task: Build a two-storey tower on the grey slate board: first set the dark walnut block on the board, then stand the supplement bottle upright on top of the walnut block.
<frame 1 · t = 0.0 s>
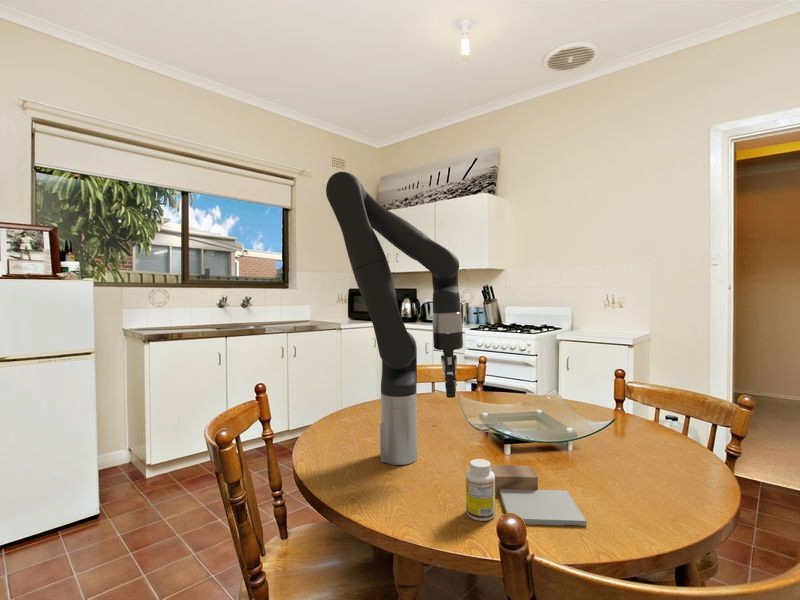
hand: (450, 393, 111), 17 cm above the table, tool pointing down, fingers open, 8 cm apart
supplement bottle: (480, 515, 84), on the table
slate board: (539, 508, 86), on the table
walnut block: (511, 488, 96), on the table
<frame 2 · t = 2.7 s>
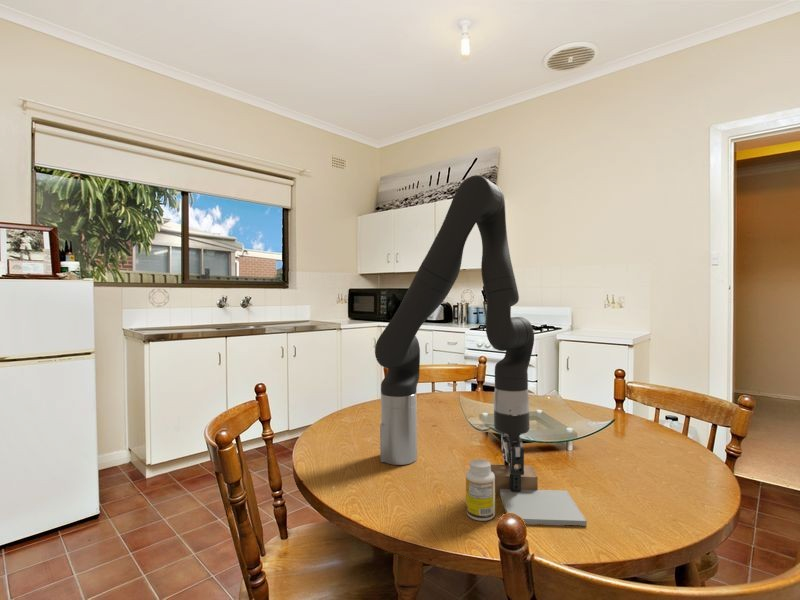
hand: (512, 483, 95), 1 cm above the table, tool pointing down, fingers open, 6 cm apart
walnut block: (511, 488, 96), on the table, touching gripper
everything else where it was.
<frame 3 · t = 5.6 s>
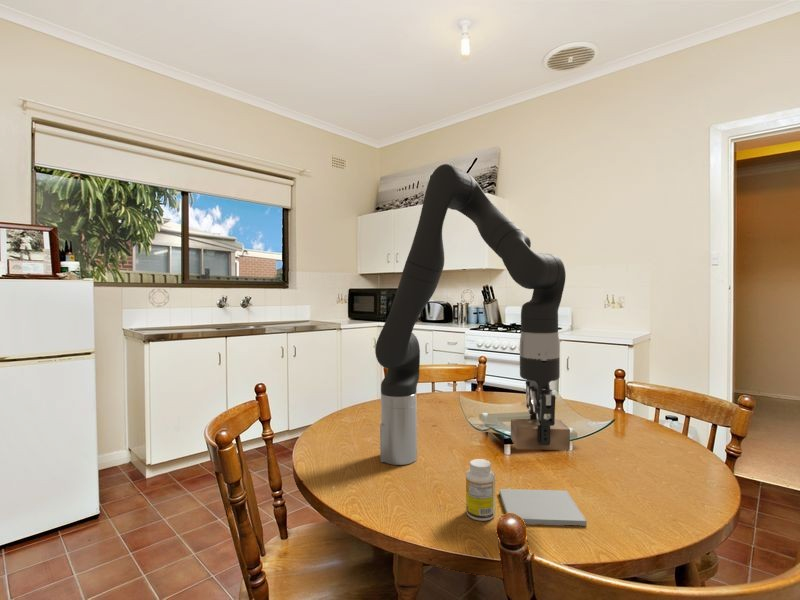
hand: (539, 438, 86), 14 cm above the table, tool pointing down, fingers closed on walnut block, 6 cm apart
walnut block: (539, 443, 86), point 13 cm above the table, touching gripper
everything else where it was.
when the fingers open (3 cm above the table, at t = 8.0 s): walnut block stays where it is, resting on slate board.
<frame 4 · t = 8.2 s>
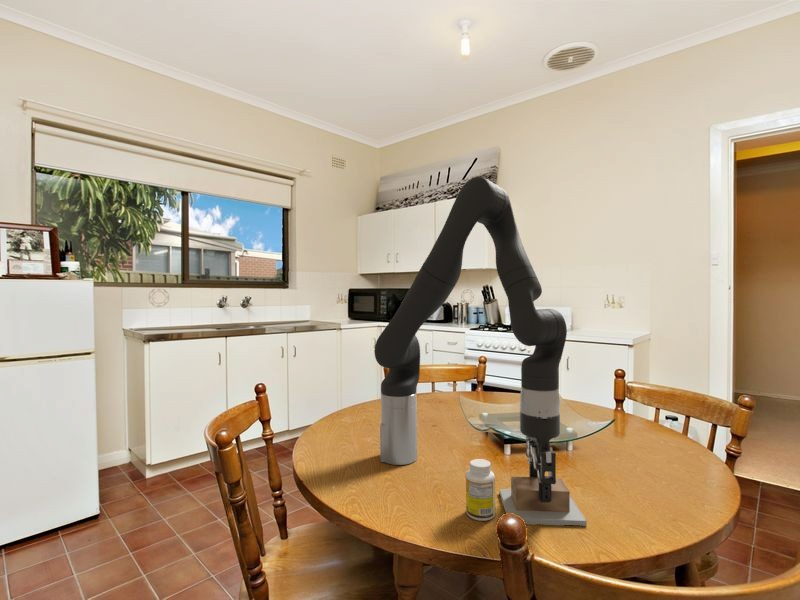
hand: (539, 491, 86), 3 cm above the table, tool pointing down, fingers open, 7 cm apart
walnut block: (539, 503, 86), point 1 cm above the table, touching slate board
everything else where it was.
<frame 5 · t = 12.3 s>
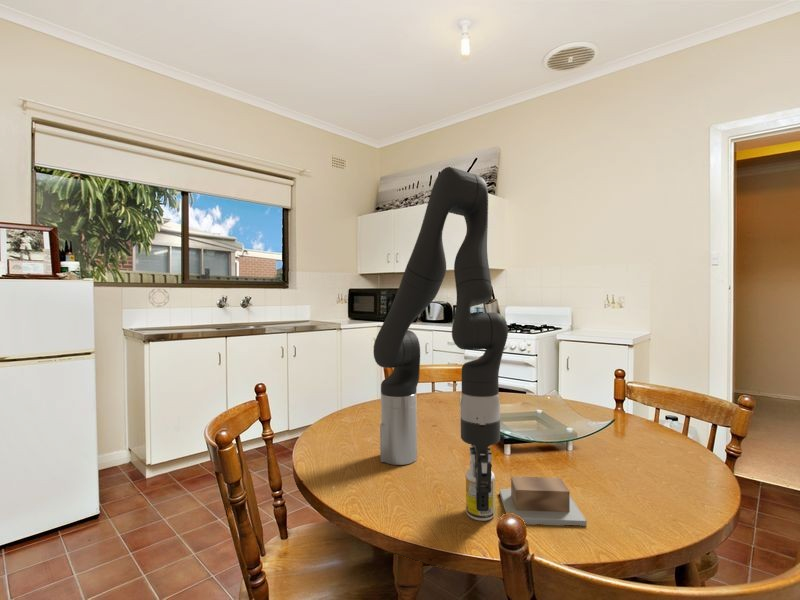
hand: (480, 501, 84), 3 cm above the table, tool pointing down, fingers closed on supplement bottle, 5 cm apart
supplement bottle: (480, 515, 84), on the table, touching gripper
everything else where it was.
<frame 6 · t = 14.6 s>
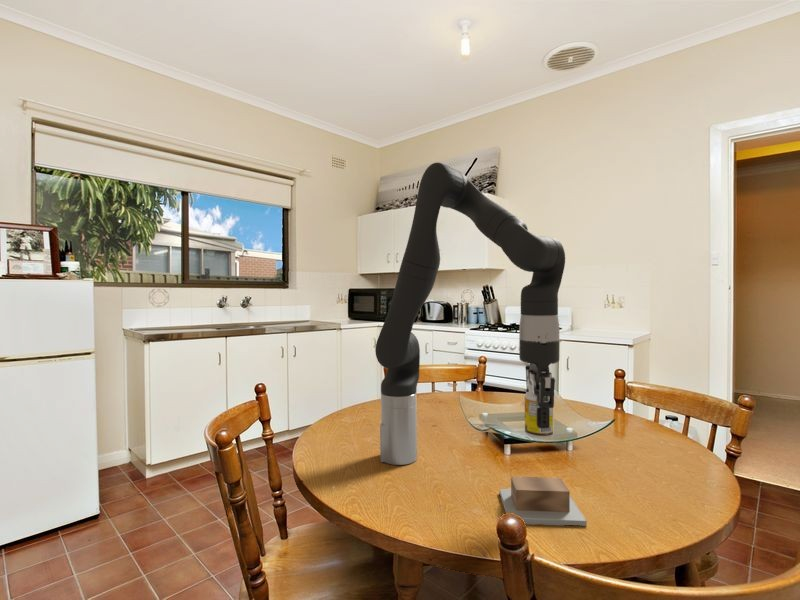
hand: (539, 422, 86), 17 cm above the table, tool pointing down, fingers closed on supplement bottle, 5 cm apart
supplement bottle: (539, 436, 86), point 15 cm above the table, touching gripper
everything else where it was.
when the fingers open (8 cm above the table, at t = 17.1 s): supplement bottle stays where it is, resting on walnut block.
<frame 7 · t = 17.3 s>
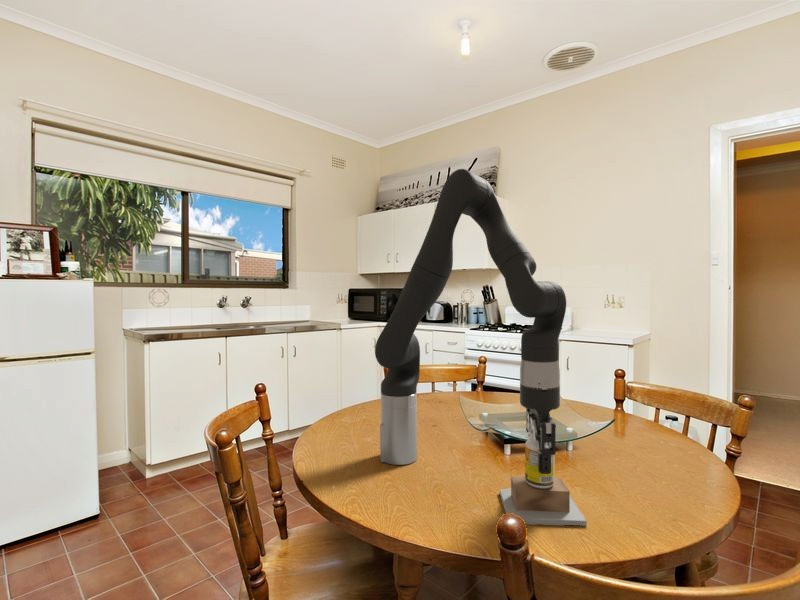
hand: (539, 464, 86), 9 cm above the table, tool pointing down, fingers open, 7 cm apart
supplement bottle: (539, 484, 86), point 5 cm above the table, touching walnut block
walnut block: (539, 503, 86), point 1 cm above the table, touching supplement bottle, slate board
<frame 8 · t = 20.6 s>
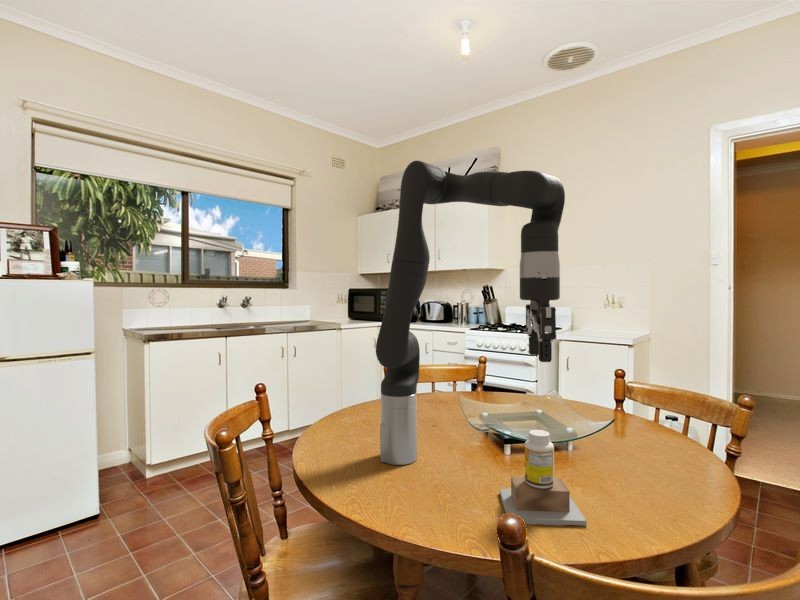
hand: (539, 358, 86), 30 cm above the table, tool pointing down, fingers open, 8 cm apart
nothing on the table moved.
at the end: walnut block inside the target area on the slate board (0.1 cm from its centre), point 1.0 cm above the slate board's base; supplement bottle touching walnut block; supplement bottle tilted 0° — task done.
